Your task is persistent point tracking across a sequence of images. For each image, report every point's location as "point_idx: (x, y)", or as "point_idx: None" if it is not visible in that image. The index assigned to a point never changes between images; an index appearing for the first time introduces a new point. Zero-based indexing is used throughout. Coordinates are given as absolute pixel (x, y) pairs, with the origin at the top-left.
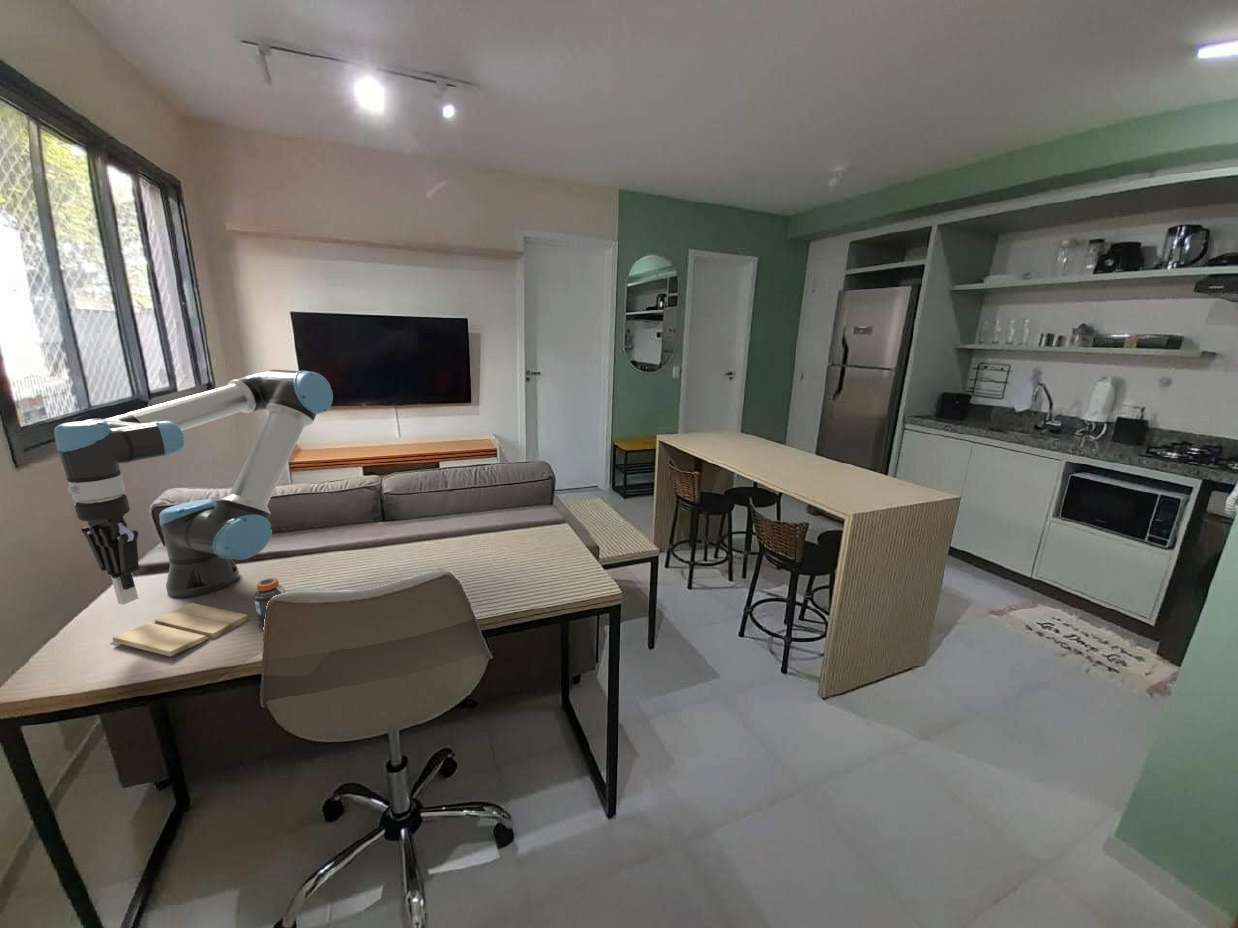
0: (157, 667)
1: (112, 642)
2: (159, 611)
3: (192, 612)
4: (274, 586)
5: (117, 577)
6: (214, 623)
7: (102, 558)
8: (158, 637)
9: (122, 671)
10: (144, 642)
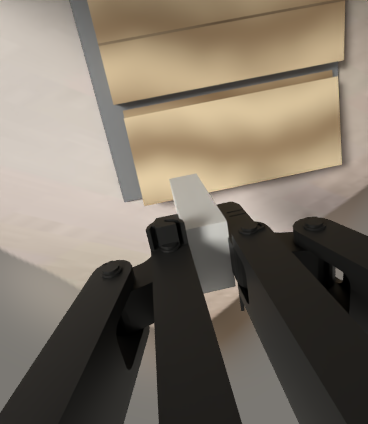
0: (319, 183)
1: (124, 196)
2: (16, 55)
3: (163, 18)
4: None
5: (233, 277)
6: (296, 23)
7: (127, 381)
8: (242, 147)
9: (268, 222)
10: (242, 176)
